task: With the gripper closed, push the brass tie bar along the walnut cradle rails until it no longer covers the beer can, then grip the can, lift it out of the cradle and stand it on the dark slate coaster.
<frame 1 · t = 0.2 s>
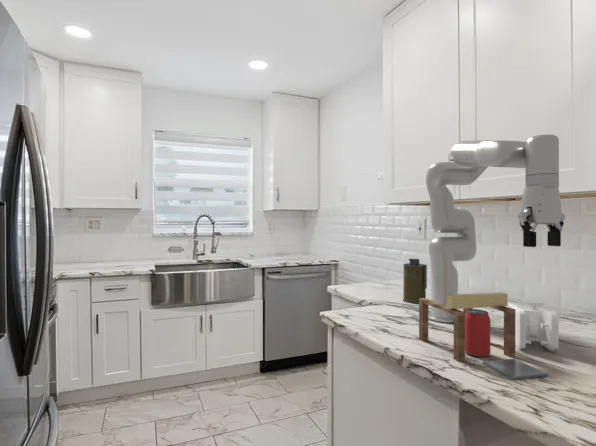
hand: (542, 246, 100), 31 cm above the worktop, tool pointing down, fingers open, 9 cm apart
coaster: (513, 369, 94), on the worktop
cable organizer: (530, 346, 113), on the worktop
cradle: (477, 353, 106), on the worktop
canister: (414, 301, 176), on the worktop
beer can: (477, 354, 106), on the worktop
tie bar: (477, 300, 106), point 15 cm above the worktop, slide at 0.0 cm
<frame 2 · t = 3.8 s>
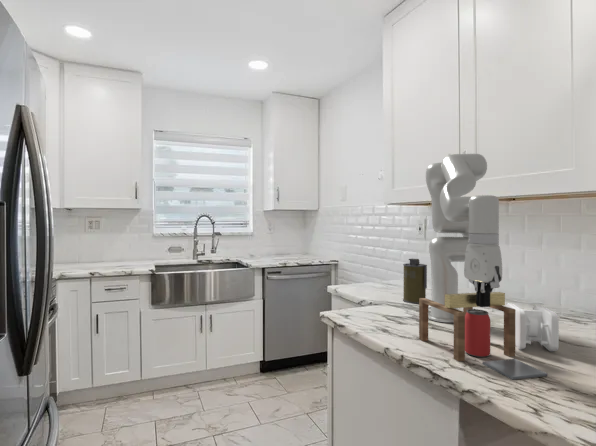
hand: (483, 306, 103), 14 cm above the worktop, tool pointing down, fingers closed
tie bar: (475, 299, 107), point 15 cm above the worktop, slide at 1.0 cm, touching gripper
everything else where it was.
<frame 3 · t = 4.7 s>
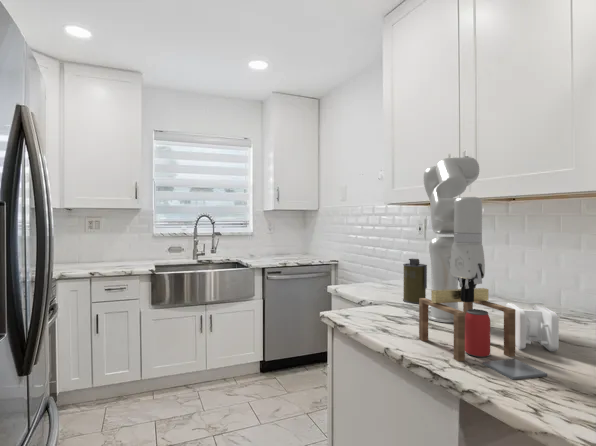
hand: (467, 301, 110), 14 cm above the worktop, tool pointing down, fingers closed
tie bar: (460, 295, 113), point 15 cm above the worktop, slide at 7.6 cm, touching gripper
everything else where it was.
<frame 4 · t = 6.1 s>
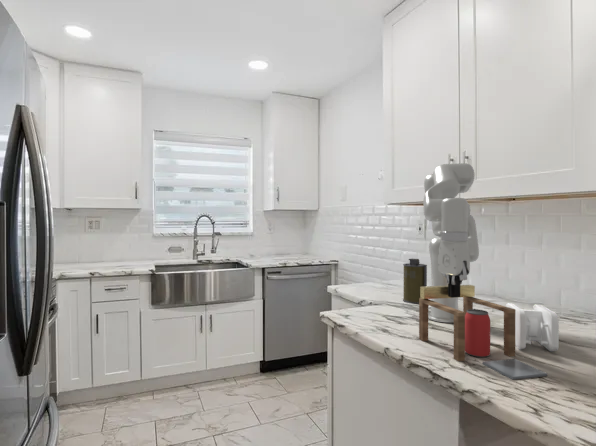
hand: (454, 296, 116), 14 cm above the worktop, tool pointing down, fingers closed
tie bar: (447, 291, 119), point 15 cm above the worktop, slide at 13.7 cm, touching gripper
everything else where it was.
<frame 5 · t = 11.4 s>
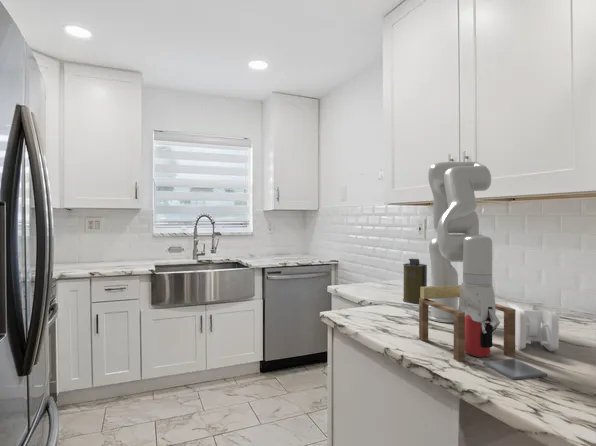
hand: (477, 342, 106), 3 cm above the worktop, tool pointing down, fingers closed on beer can, 6 cm apart
beer can: (477, 354, 106), on the worktop, touching gripper
tie bar: (447, 291, 119), point 15 cm above the worktop, slide at 13.7 cm
everything else where it was.
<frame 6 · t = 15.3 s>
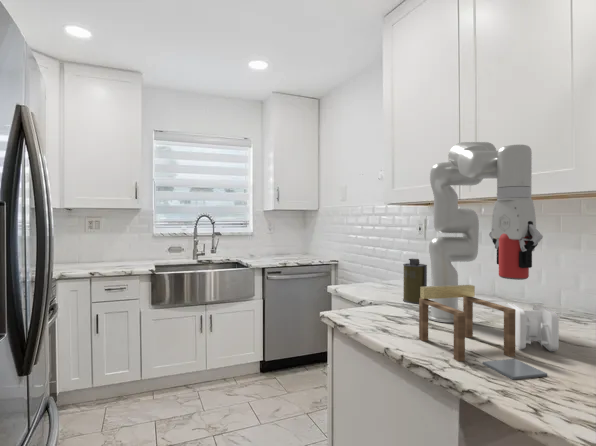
hand: (513, 265, 94), 26 cm above the worktop, tool pointing down, fingers closed on beer can, 6 cm apart
beer can: (513, 278, 94), point 23 cm above the worktop, touching gripper
everything else where it was.
when the fingers open (5 cm above the worktop, at t = 19.5 s): beer can drops 1 cm, resting on coaster.
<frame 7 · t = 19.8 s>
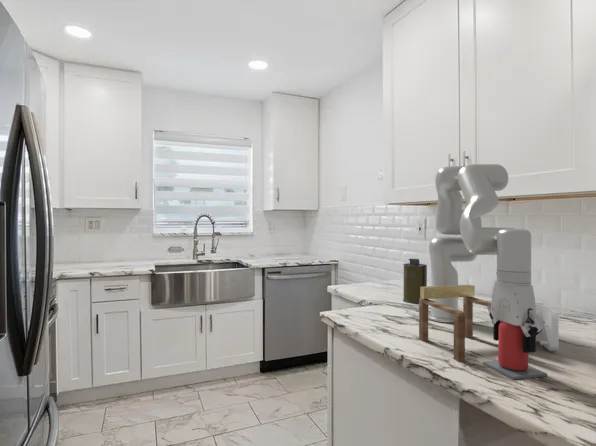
hand: (513, 345, 94), 6 cm above the worktop, tool pointing down, fingers open, 9 cm apart
beer can: (513, 367, 94), resting on coaster
everything else where it was.
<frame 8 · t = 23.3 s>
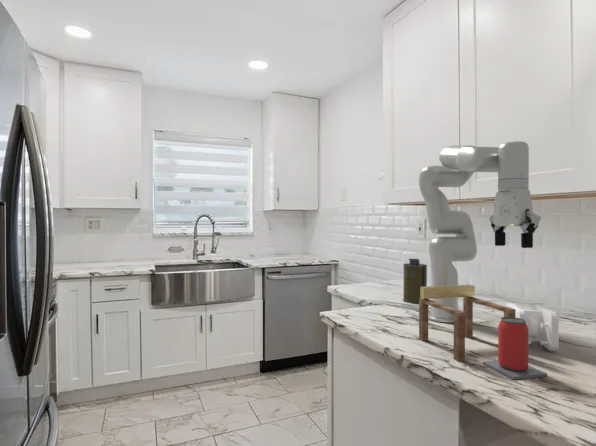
hand: (512, 246, 106), 30 cm above the worktop, tool pointing down, fingers open, 9 cm apart
nothing on the worktop moved.
at the end: tie bar slide at 13.7 cm; beer can inside the target area on the coaster (0.2 cm from its centre), point 0.4 cm above the coaster's base; beer can tilted 0° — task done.
